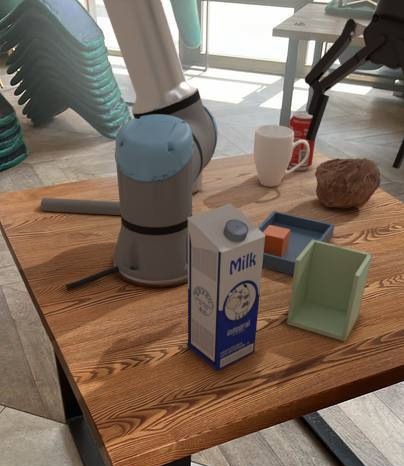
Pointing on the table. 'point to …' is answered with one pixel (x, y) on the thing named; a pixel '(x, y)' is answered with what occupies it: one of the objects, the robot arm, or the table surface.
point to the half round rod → (81, 206)
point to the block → (276, 240)
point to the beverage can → (300, 129)
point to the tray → (294, 238)
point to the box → (328, 289)
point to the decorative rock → (347, 182)
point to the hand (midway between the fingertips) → (351, 154)
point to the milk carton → (223, 284)
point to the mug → (274, 153)
